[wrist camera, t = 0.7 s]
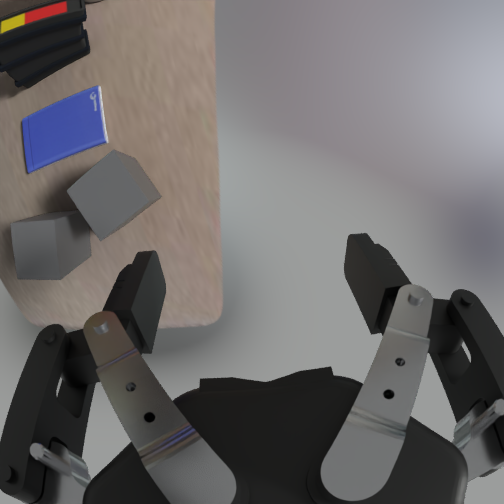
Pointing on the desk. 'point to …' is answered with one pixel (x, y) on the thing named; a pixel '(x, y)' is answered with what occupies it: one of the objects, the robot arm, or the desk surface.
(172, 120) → the desk surface
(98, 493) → the robot arm
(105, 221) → the grey tall block
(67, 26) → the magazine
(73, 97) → the hard drive
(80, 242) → the cube cover
